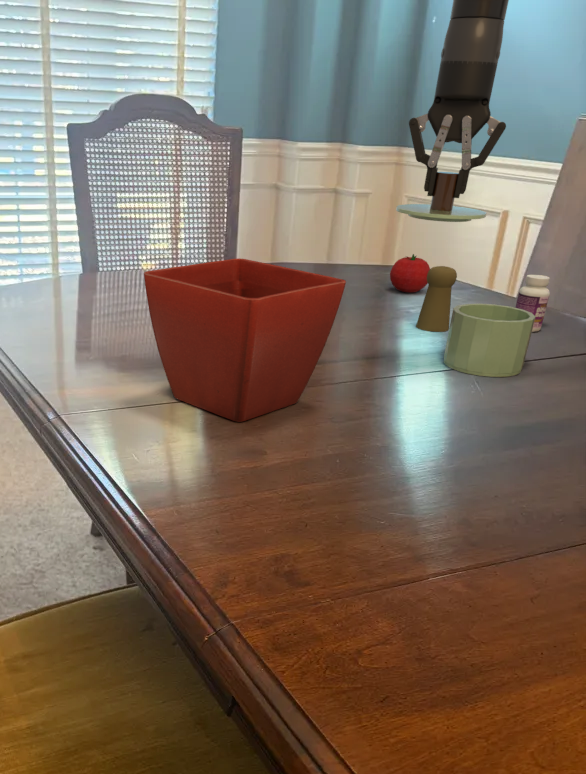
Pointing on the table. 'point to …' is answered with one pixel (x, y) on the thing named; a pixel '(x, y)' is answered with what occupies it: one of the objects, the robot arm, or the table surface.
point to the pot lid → (442, 203)
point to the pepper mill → (437, 300)
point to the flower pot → (240, 332)
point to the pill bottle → (534, 298)
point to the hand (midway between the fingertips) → (443, 196)
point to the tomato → (409, 274)
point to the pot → (488, 339)
